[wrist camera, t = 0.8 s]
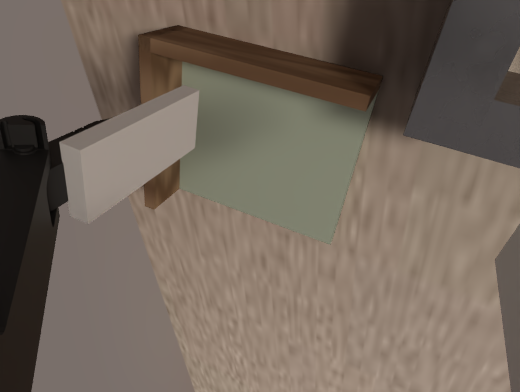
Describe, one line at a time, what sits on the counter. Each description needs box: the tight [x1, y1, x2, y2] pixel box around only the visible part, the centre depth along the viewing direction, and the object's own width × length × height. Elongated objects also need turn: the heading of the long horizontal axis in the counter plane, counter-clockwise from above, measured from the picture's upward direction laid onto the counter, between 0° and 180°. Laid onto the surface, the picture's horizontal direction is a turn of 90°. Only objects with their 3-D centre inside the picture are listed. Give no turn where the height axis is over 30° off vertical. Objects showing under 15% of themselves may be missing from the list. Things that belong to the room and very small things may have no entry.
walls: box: [138, 25, 383, 209], centre depth 38 cm, size 18×20×6 cm
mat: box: [179, 61, 379, 244], centre depth 40 cm, size 18×20×1 cm
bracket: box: [403, 0, 520, 168], centre depth 25 cm, size 10×8×9 cm
